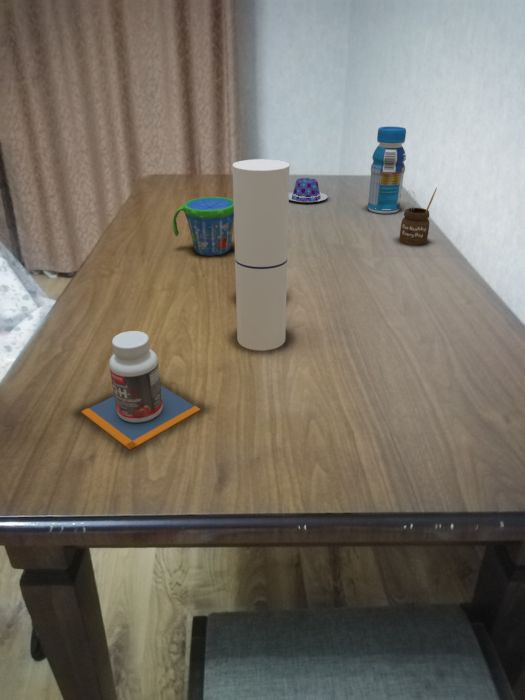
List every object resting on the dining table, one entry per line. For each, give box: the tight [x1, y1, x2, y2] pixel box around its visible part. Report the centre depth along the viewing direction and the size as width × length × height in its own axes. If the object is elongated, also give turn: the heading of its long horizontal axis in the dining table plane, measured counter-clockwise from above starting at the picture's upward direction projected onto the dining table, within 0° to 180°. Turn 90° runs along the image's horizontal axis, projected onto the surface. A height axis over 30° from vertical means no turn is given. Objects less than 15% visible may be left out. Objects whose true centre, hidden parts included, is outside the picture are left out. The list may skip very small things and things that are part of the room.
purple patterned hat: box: [289, 177, 328, 204], centre depth 149 cm, size 12×12×5 cm
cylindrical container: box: [232, 158, 290, 351], centre depth 74 cm, size 7×7×25 cm
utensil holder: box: [399, 186, 438, 247], centre depth 115 cm, size 6×6×12 cm
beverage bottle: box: [367, 126, 407, 215], centre depth 136 cm, size 8×8×20 cm
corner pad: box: [81, 385, 202, 452], centre depth 64 cm, size 10×10×1 cm
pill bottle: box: [108, 330, 163, 423], centre depth 62 cm, size 5×5×10 cm
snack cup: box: [172, 196, 234, 257], centre depth 111 cm, size 16×10×10 cm
